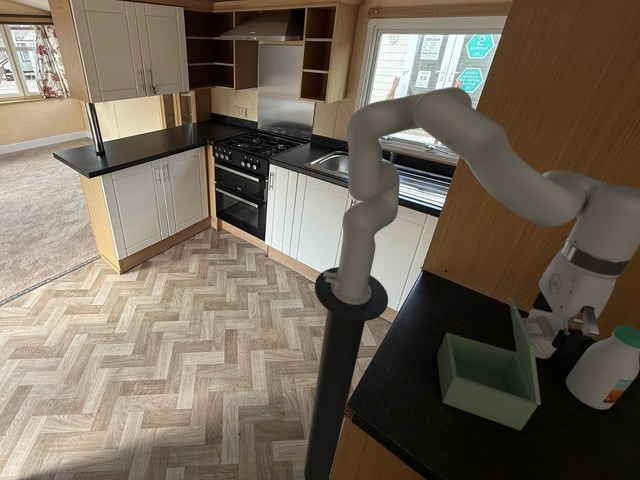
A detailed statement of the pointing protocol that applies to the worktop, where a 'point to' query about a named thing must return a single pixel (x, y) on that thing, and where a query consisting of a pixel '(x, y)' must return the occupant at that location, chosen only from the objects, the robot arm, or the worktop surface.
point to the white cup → (542, 345)
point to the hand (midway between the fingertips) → (551, 327)
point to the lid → (529, 345)
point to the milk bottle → (606, 369)
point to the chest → (484, 381)
